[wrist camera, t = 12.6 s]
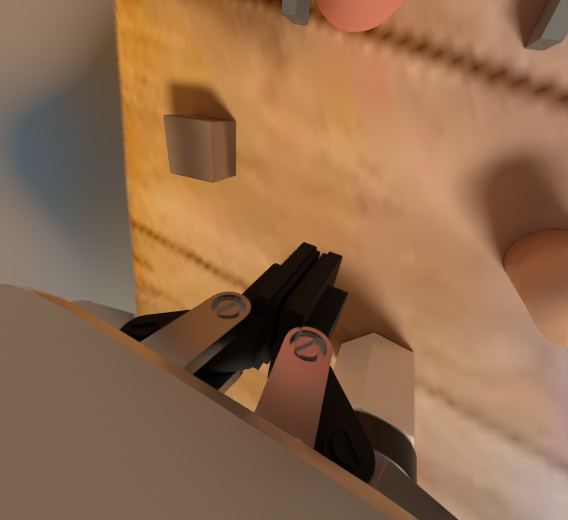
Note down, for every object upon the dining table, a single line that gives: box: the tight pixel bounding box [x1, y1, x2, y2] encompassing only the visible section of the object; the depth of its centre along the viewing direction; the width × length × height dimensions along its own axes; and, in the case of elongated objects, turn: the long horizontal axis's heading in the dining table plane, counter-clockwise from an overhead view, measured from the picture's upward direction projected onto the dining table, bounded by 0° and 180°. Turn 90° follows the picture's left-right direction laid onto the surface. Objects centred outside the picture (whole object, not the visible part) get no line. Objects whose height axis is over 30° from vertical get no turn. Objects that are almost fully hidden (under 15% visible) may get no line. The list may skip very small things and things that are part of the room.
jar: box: [333, 333, 417, 484], centre depth 26 cm, size 9×8×12 cm
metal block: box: [163, 115, 236, 183], centre depth 25 cm, size 5×5×4 cm
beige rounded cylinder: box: [503, 229, 568, 348], centre depth 17 cm, size 5×5×7 cm
